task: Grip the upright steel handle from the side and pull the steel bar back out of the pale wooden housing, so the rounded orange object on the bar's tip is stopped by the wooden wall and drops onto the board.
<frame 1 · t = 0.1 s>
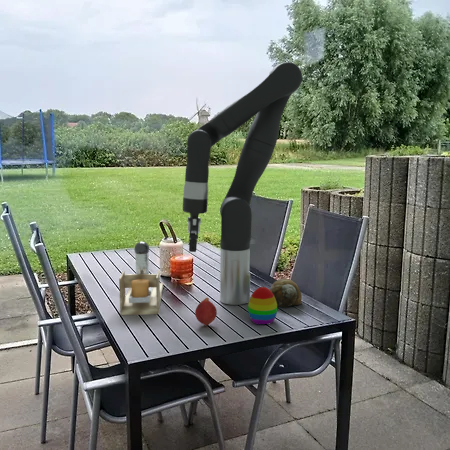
hand: (192, 248, 142), 17 cm above the table, tool pointing down, fingers open, 8 cm apart
onion: (206, 326, 125), on the table
shaft: (140, 270, 138), point 11 cm above the table, slide at 0.0 cm, touching rounded orange object
rounded orange object: (140, 294, 136), point 5 cm above the table, touching shaft
frame: (142, 302, 143), on the table
decorative egg: (262, 322, 129), on the table
seashell: (286, 304, 143), on the table
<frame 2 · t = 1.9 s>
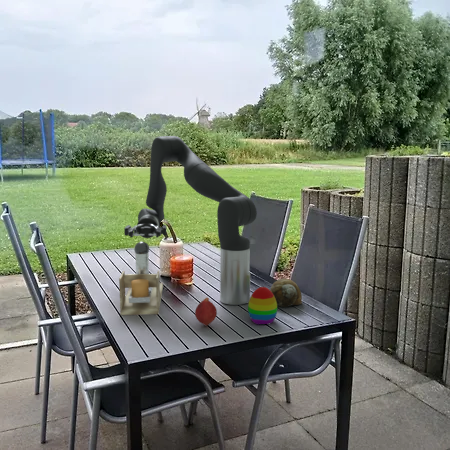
hand: (144, 234, 151), 20 cm above the table, tool horizontal, fingers open, 8 cm apart
nothing on the table moved.
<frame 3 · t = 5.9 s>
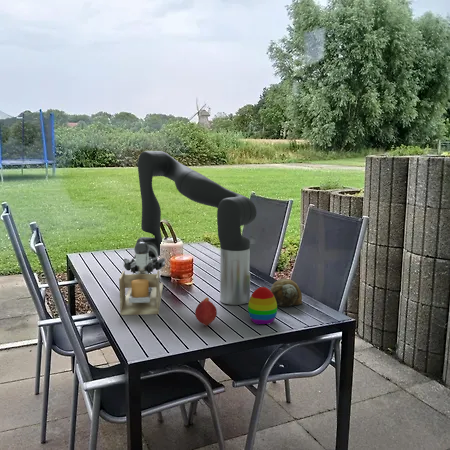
hand: (141, 270, 140), 11 cm above the table, tool horizontal, fingers closed on shaft, 4 cm apart
shaft: (140, 270, 138), point 11 cm above the table, slide at 0.0 cm, touching gripper, rounded orange object
everything else where it was.
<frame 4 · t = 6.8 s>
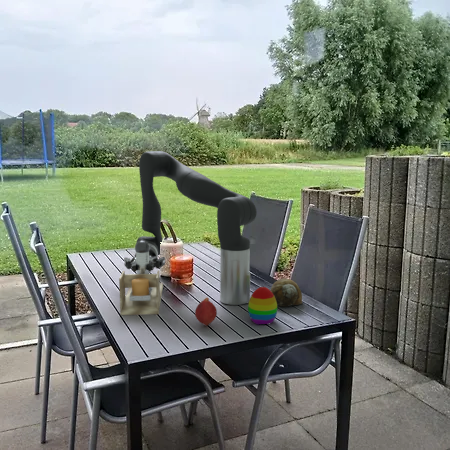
hand: (142, 268, 141), 11 cm above the table, tool horizontal, fingers closed on shaft, 4 cm apart
shaft: (141, 268, 140), point 11 cm above the table, slide at -1.7 cm, touching gripper, rounded orange object
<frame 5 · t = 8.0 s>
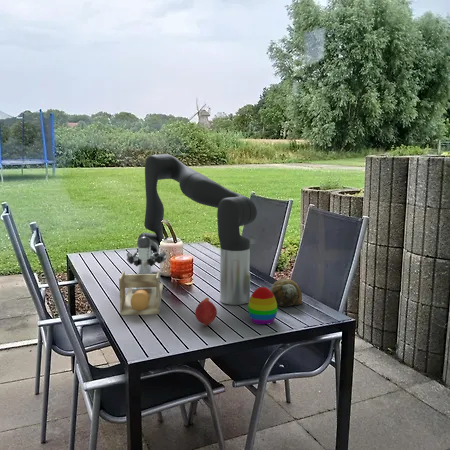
hand: (144, 263, 148), 11 cm above the table, tool horizontal, fingers closed on shaft, 4 cm apart
shaft: (143, 263, 146), point 11 cm above the table, slide at -8.4 cm, touching gripper
rounded orange object: (141, 297, 136), point 4 cm above the table, tilted 90°, touching frame
everything else where it was.
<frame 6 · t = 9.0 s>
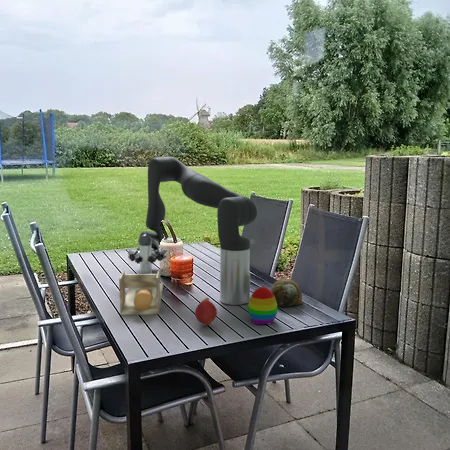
hand: (145, 260, 151), 11 cm above the table, tool horizontal, fingers closed on shaft, 4 cm apart
shaft: (144, 260, 150), point 11 cm above the table, slide at -11.9 cm, touching gripper
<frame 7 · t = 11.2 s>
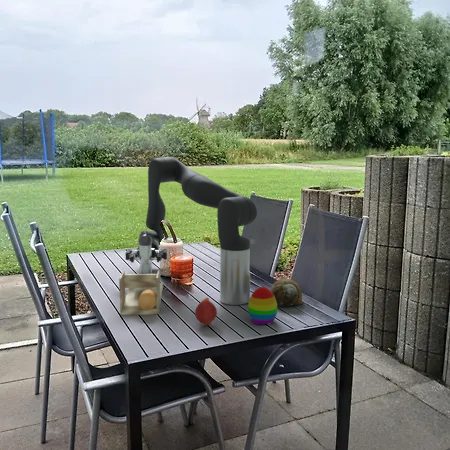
hand: (145, 259, 153), 11 cm above the table, tool horizontal, fingers open, 8 cm apart
shaft: (144, 260, 150), point 11 cm above the table, slide at -12.0 cm
rounded orange object: (148, 297, 136), point 4 cm above the table, tilted 90°, touching frame
everything else where it was.
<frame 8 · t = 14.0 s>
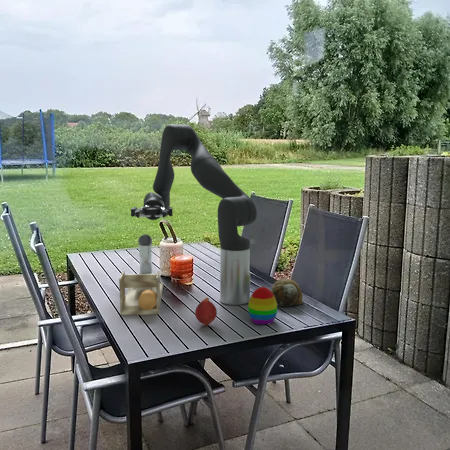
hand: (150, 214, 152), 26 cm above the table, tool horizontal, fingers open, 8 cm apart
nothing on the table moved.
at the end: shaft slide at -12.0 cm; rounded orange object inside the target area (2.8 cm from its centre), point 4.0 cm above the table; rounded orange object touching frame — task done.
